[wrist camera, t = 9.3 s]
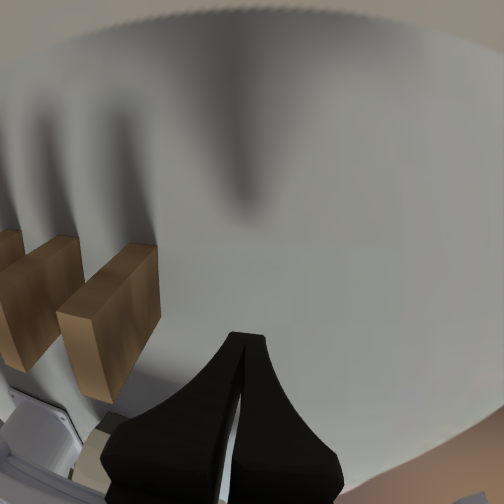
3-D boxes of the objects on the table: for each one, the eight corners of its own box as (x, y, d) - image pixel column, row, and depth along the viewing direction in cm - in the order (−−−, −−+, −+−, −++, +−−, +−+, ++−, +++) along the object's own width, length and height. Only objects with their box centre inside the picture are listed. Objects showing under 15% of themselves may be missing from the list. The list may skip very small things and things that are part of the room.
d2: (88, 303, 18) (26, 373, 12) (69, 299, 18) (5, 364, 12) (79, 237, 16) (-2, 294, 10) (58, 235, 17) (-22, 288, 10)
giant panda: (100, 435, 24) (63, 512, 15) (94, 401, 22) (45, 489, 13) (251, 477, 24) (241, 565, 15) (267, 450, 22) (258, 555, 13)
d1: (161, 316, 18) (112, 404, 11) (136, 312, 18) (81, 394, 12) (157, 245, 16) (90, 319, 10) (130, 242, 16) (55, 311, 10)
